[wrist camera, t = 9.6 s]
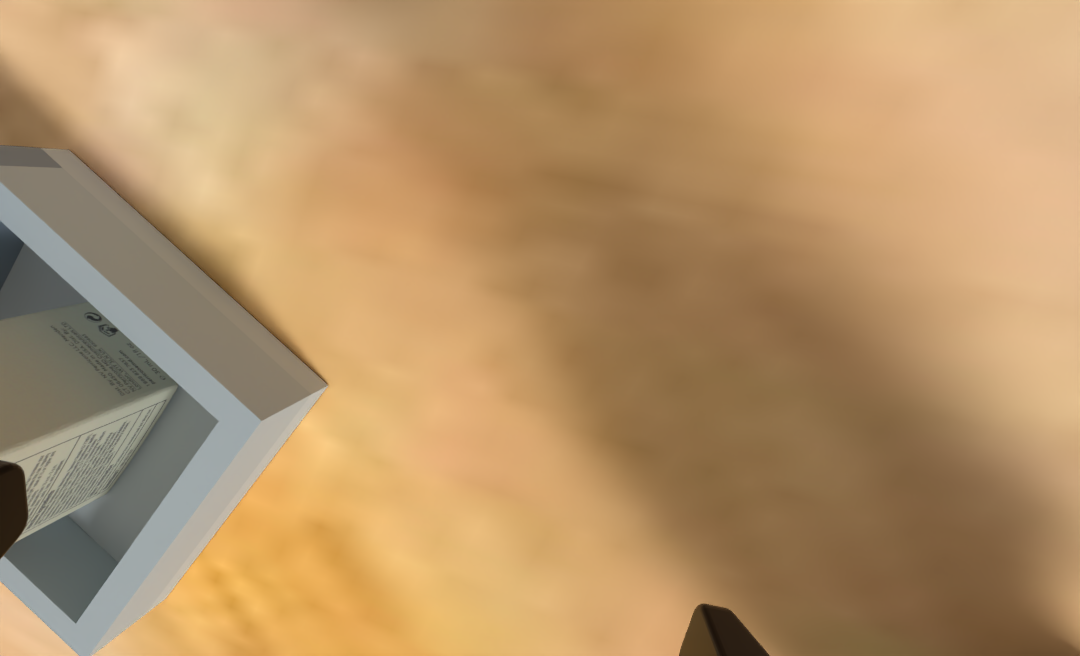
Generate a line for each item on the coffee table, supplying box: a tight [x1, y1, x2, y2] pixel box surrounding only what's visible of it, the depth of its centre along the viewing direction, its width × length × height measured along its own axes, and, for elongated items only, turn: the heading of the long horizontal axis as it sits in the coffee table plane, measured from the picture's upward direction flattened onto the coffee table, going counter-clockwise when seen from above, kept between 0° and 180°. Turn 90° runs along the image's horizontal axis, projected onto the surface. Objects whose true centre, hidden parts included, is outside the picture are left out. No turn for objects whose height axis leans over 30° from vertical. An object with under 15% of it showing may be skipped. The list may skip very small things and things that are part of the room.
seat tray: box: [0, 145, 328, 656], centre depth 20 cm, size 12×12×7 cm
